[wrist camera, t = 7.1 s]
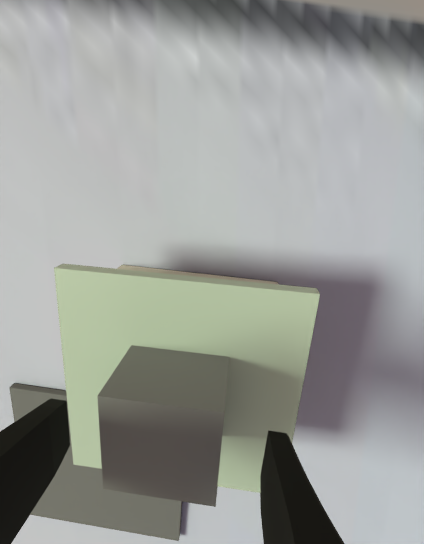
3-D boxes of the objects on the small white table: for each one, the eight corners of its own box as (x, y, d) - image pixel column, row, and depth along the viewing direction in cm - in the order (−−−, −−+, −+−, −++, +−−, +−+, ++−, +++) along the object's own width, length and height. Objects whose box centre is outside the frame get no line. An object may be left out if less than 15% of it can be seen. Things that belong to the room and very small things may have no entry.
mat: (179, 534, 22) (178, 540, 21) (32, 508, 22) (28, 514, 22) (188, 408, 18) (187, 413, 18) (14, 383, 19) (9, 387, 19)
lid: (280, 483, 15) (291, 577, 11) (79, 453, 15) (32, 533, 12) (316, 288, 12) (346, 336, 8) (63, 263, 12) (-7, 297, 9)
